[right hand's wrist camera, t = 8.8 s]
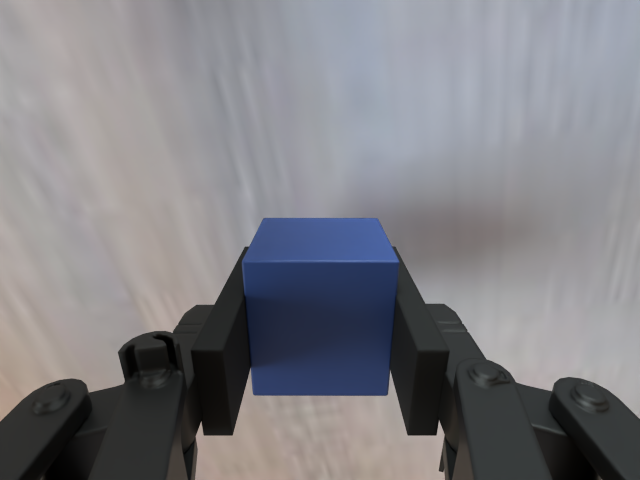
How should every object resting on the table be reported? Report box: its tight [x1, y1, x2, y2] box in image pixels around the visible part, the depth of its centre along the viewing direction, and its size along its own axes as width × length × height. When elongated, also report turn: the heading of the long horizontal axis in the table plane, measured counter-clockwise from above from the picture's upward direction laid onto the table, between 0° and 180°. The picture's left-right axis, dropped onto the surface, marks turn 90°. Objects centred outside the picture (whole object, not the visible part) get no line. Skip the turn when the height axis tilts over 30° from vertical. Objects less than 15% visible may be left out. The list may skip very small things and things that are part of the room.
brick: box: [242, 218, 400, 396], centre depth 13 cm, size 5×5×4 cm
